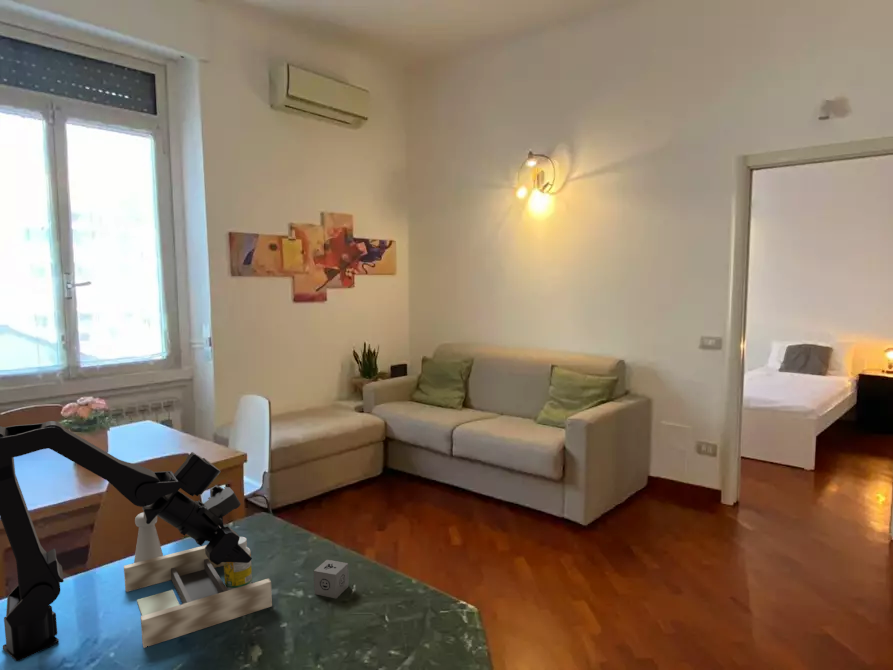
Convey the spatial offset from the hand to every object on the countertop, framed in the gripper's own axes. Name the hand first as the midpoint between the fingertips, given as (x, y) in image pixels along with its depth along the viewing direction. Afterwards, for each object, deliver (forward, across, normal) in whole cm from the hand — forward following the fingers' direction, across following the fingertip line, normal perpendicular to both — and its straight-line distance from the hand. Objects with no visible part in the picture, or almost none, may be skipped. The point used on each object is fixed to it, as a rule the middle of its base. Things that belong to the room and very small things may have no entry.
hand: (243, 552), depth 125 cm
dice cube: (+15, -13, -5) cm, 20 cm away
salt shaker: (-6, +17, +16) cm, 24 cm away
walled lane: (-2, 0, +11) cm, 11 cm away
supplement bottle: (+4, 0, +6) cm, 7 cm away
